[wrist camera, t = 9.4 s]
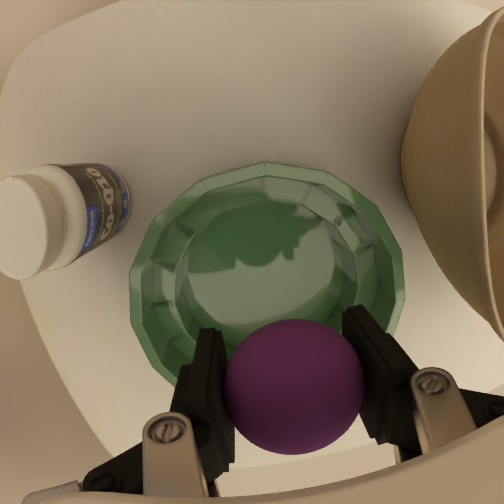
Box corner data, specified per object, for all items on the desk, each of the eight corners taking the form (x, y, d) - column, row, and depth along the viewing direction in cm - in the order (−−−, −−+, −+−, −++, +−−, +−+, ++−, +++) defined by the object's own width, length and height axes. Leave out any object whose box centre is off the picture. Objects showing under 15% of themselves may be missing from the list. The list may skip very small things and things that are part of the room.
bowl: (114, 260, 18) (78, 290, 13) (286, 119, 16) (305, 101, 11) (245, 393, 21) (247, 444, 16) (397, 289, 19) (436, 322, 14)
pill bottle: (141, 230, 17) (72, 280, 9) (77, 247, 17) (-5, 298, 9) (123, 153, 16) (39, 147, 8) (60, 176, 16) (-34, 190, 8)
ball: (200, 341, 11) (183, 432, 6) (301, 271, 10) (340, 342, 6) (271, 407, 12) (282, 492, 7) (360, 351, 11) (405, 429, 7)
